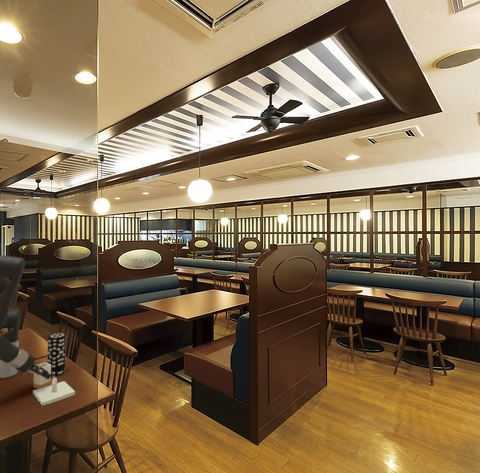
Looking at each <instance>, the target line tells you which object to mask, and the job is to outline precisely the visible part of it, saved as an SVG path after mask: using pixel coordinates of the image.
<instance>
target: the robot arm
mask: <svg viewBox="0 0 480 473" xmlns="http://www.w3.org/2000/svg"><path fill="white" fill-rule="evenodd" d="M25 265H26V262H25V259H24V257H23V258H22V257H19V256H18V257H17V256H10V255H0V330H2V329H3V330H5V329H9V330H8V331H6V332H4V333H2V334H0V379H5V378H9V377H13V376H15V375H17V374H18V372H20V373H26V372H29V373H31V374H33V375H34V374H36V375H41V376H42V377H44V378H46V379H50V377H51V376H52V375H51V374H49V373H48V371H46V370H45V369H43V368H42V367H40V366H39V364H38V363H37V362H36V358H35V357H34V355H32V354H31V353H29V352H27V351H26V350H24V349H22V348H20V347H19V340H20V335H19V334H20V333H19V331H20V322H21V311H20V310H19V309H18V308H14V309H10V308H12V307H13V306H14V305H15V304H16V303H17V301H18V299H19V288H18V287H19V284H20V282H21V279H22V276H23V273H24V272H25V271H24V270H25ZM51 378H52V377H51Z"/></svg>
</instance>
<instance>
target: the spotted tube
mask: <svg viewBox="0 0 480 473" xmlns="http://www.w3.org/2000/svg"><path fill="white" fill-rule="evenodd" d="M66 354H67V333H66V332H56V333H52V334H50V335H48V336H47V353H46V355H47V356H46V357H47V359H46V363H48V364H51V375H52V376H51V378H57V377H60V376H63V375H64V374H65V373H66V362H67V361H66V357H67V355H66Z"/></svg>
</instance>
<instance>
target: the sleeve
mask: <svg viewBox="0 0 480 473" xmlns="http://www.w3.org/2000/svg"><path fill="white" fill-rule="evenodd" d="M38 365H39V366H40V367H42V368H43V369H45V370H46V371H48V373H49V374H51V364H48V363H47V362H42V363H39V364H38ZM49 385H52V377H50V379H46V378H44V377H42V376H41V375H36V374H34V373H33V388H35V389H36V390H37V389H40V388H43V387H46V386H49Z"/></svg>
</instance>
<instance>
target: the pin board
mask: <svg viewBox="0 0 480 473" xmlns="http://www.w3.org/2000/svg"><path fill="white" fill-rule="evenodd" d="M32 395H33V396H34V398H35V399H36V398H37V399H36V400H37V401H38V403H39V402H40V403H39V404H40V406H42V407H44V406H47V405H49V404H52V403H56V402H58V401H62V400H64V399H67V398H70V397H72V396H75V395H76V391H75V390H74V388H72V387H71V386H70V385H69V384H68V383H67V382H66V381H65V380H64V381H60V382H58V379H57V377H52V378H51V384H50V386H46V387H43V388H40V389H37V388H36V389H33V390H32ZM46 404H47V405H46ZM43 405H44V406H43Z"/></svg>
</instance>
